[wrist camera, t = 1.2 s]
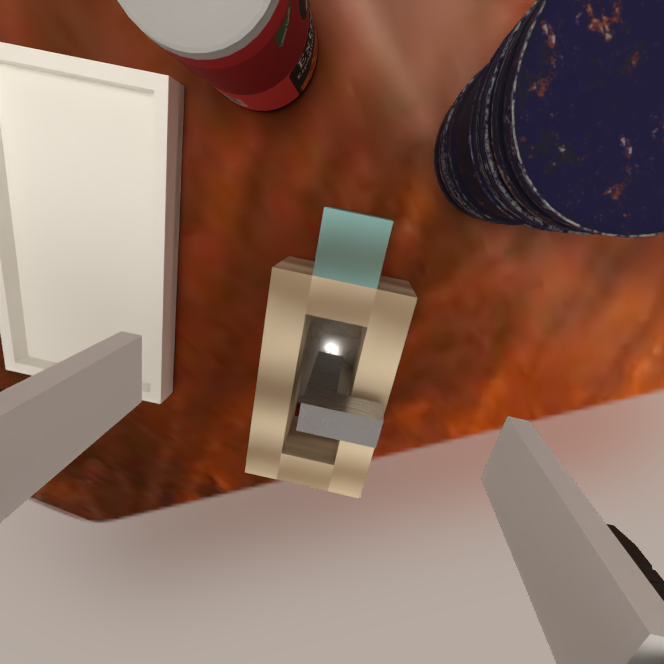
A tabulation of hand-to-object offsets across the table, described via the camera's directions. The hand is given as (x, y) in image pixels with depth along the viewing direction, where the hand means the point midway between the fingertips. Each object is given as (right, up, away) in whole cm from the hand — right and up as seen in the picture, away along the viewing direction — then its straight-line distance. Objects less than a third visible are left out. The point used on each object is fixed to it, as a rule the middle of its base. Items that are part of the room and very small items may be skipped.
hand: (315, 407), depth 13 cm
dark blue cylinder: (+13, +16, +13) cm, 24 cm away
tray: (-20, +10, +18) cm, 29 cm away
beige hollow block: (+1, +2, +16) cm, 16 cm away
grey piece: (+1, +1, +19) cm, 19 cm away
